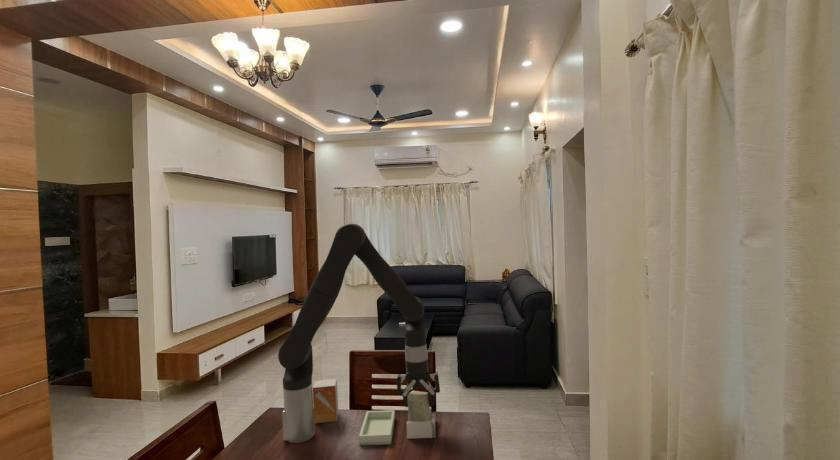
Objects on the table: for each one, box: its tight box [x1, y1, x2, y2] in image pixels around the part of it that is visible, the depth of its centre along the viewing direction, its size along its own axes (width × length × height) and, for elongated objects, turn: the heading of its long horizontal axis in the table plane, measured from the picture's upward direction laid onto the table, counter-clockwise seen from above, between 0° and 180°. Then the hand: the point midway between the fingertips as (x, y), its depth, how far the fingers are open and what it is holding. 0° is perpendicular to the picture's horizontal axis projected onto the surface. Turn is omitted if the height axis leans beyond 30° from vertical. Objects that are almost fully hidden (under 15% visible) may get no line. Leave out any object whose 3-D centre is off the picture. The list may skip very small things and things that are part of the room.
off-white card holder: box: [406, 406, 437, 440], centre depth 130 cm, size 9×10×5 cm
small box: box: [312, 378, 339, 424], centre depth 141 cm, size 8×6×13 cm
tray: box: [358, 409, 396, 446], centre depth 131 cm, size 10×16×3 cm, turn 179°
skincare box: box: [407, 390, 430, 421], centre depth 130 cm, size 6×4×12 cm
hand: (419, 405), depth 130 cm, fingers open, 8 cm apart
